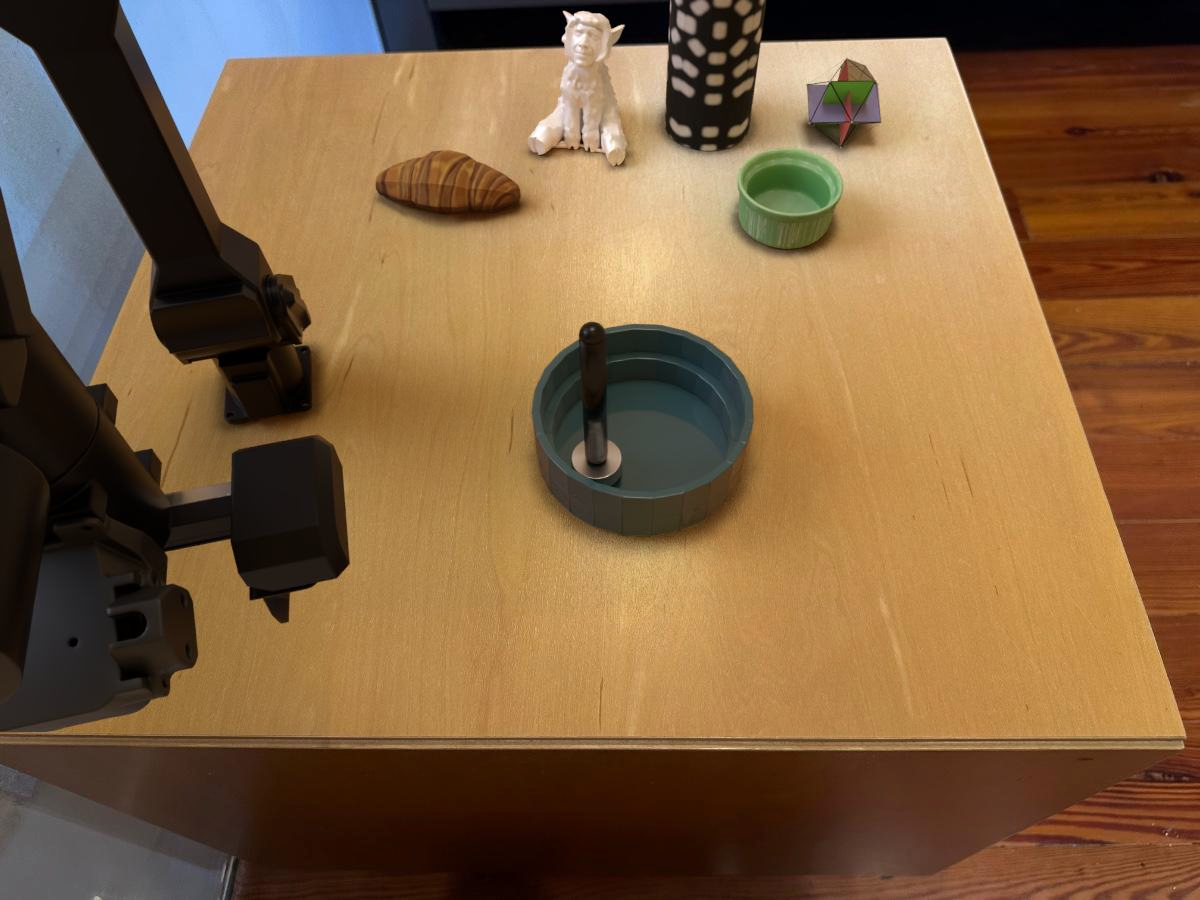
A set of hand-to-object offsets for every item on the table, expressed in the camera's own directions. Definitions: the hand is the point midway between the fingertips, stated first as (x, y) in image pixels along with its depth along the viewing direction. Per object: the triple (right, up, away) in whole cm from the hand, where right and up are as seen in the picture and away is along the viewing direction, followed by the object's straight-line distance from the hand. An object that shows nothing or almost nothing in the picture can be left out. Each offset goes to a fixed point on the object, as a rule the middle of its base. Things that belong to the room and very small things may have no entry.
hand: (187, 634), depth 44 cm
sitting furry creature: (+18, +40, +46) cm, 63 cm away
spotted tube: (+30, +41, +46) cm, 69 cm away
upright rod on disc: (+20, +8, +21) cm, 30 cm away
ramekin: (+36, +29, +38) cm, 60 cm away
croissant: (+6, +32, +40) cm, 52 cm away
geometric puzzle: (+43, +40, +45) cm, 74 cm away
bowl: (+23, +9, +24) cm, 34 cm away
